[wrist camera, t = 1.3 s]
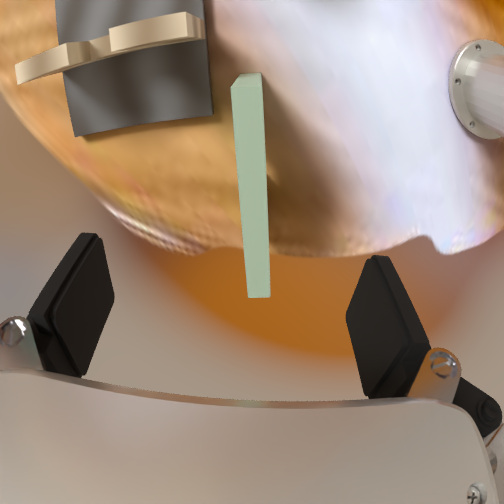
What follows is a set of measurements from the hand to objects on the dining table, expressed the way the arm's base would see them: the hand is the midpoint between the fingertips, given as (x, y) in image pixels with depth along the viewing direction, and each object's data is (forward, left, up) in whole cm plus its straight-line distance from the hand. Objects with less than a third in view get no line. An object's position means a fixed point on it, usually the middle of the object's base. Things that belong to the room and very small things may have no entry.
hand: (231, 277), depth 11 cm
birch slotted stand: (+12, -10, -25) cm, 29 cm away
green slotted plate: (0, +4, -25) cm, 25 cm away
